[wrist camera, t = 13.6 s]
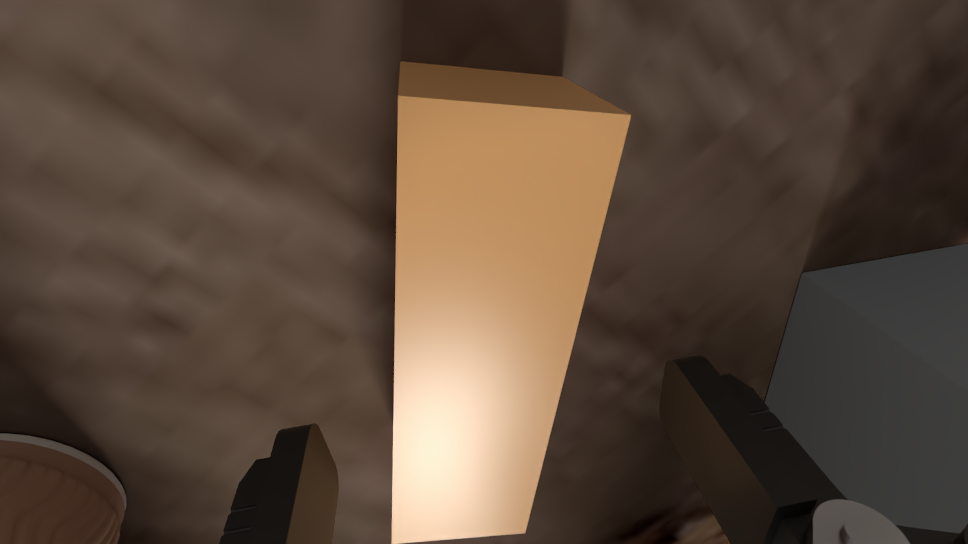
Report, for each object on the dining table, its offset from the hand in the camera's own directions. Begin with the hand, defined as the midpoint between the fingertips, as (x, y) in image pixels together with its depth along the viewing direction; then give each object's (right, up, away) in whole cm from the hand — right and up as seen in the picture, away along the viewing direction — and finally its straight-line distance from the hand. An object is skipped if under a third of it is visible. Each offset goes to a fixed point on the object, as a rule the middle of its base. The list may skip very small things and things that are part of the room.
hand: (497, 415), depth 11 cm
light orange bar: (-1, +3, +6) cm, 7 cm away
